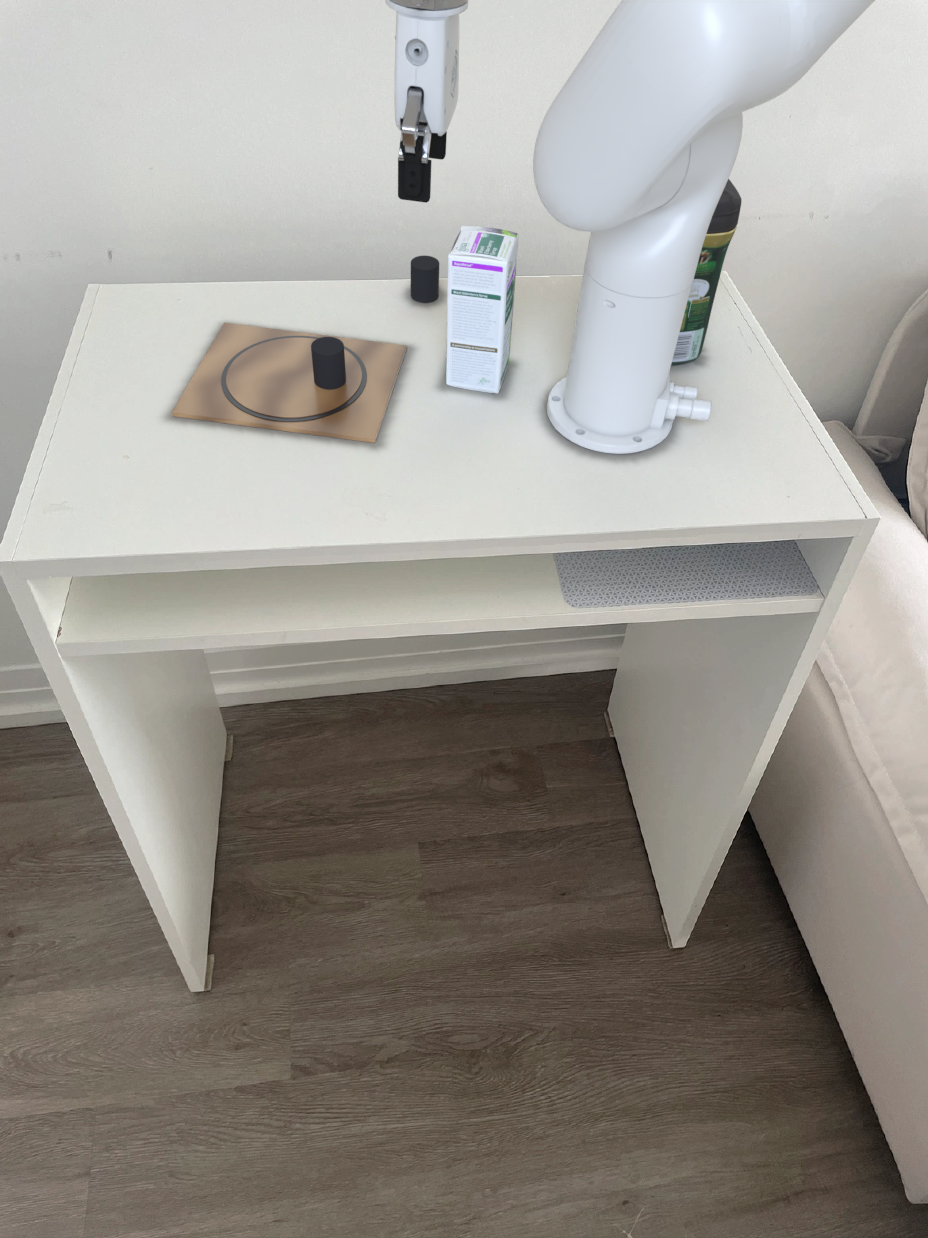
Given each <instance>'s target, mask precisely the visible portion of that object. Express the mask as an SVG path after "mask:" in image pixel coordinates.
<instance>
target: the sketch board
mask: <svg viewBox="0 0 928 1238" xmlns="http://www.w3.org/2000/svg"><path fill="white" fill-rule="evenodd" d="M321 337H334V338H337V339H339V340H341V341H342V342H343V344H344V355H345V370H346V382H345V384H344V385H343V386H342V387H340V388H337V389H332V390H327V389H322V388H320V387H318V386H317V385H316V384H315V382H314V374H313V363H312V353H311V344H312V342H313V341H314V340H316V339H318V338H321ZM406 352H407V345H405V344H398V343H390V342H384V341H383V342H382V341H375V340H374V341H373V340H367V339H365V340H364V339H358V338H349V337H341V336H334V335H325V334H317V333H310V332H302V331H293V330H287V329H277V328H269V327H262V326H255V325H247V324H238V323H231V322H223V323H222V325H221V327H220V329H219V330H218V332H217V334H216V336H215V337H214V339H213V340H212V343H211V344H210V346H209V348H208V349H207V351H206V353H205V354H204V356H203V357H202V359H201V361H200V362H199V364H198V366H197V368H196V370H195V372H194V373H193V375H192V377H191V379H190V380H189V382H188V384H187V385H186V387H185V388H184V391H182V394H181V395H180V397H179V399H178V401H177V402H176V403H175V405H174V408H173V409H172V411H171V416H172V417H174V418H175V417H176V418H181V419H182V418H183V419H189V420H190V419H191V420H199V421H205V422H214V423H221V424H228V425H236V426H245V427H251V428H260V429H267V430H273V431H274V430H275V431H281V432H282V431H283V432H290V433H297V434H304V435H312V436H319V437H327V438H334V439H341V440H342V439H343V440H348V441H357V442H364V443H373V444H375V443H376V441H377V438H378V435H379V432H380V430H381V427H382V423H383V420H384V418H385V416H386V411H387V408H388V405H389V402H390V400H391V396H392V393H393V390H394V387H395V385H396V382H397V379H398V376H399V372H400V370H401V367H402V364H403V361H404V357H405V355H406Z"/></svg>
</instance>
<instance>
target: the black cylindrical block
mask: <svg viewBox="0 0 928 1238" xmlns="http://www.w3.org/2000/svg"><path fill="white" fill-rule="evenodd" d="M311 353H312V363H313V374H314V382H315V384H316V385H317V386H318V387H320V388H322V389H327V390H332V389H337V388H340V387H342V386H343V385H344V384H345V382H346V370H345V355H344V344H343V342H342V341H341V340H339V339H337V338H334V337H321V338H318V339H316V340H314V341H313V342H312V344H311Z"/></svg>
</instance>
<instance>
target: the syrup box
mask: <svg viewBox="0 0 928 1238" xmlns="http://www.w3.org/2000/svg"><path fill="white" fill-rule="evenodd" d="M518 247H519V233H518V232H514V231H510V230H508V229H507V230H506V229H501V228H495V227H489V226H478V225H477V226H476V225H464V224H462V225H461V227H460V230H459V232H458V233H457V235H456V237H455V239H454V241H453V243H452V245H451V248H450V250H449V252H448V255H447V292H446V293H447V295H446V296H447V297H446V298H447V299H446V350H445V351H446V352H445V384H446V385H447V386H448V387H455V388H458V389H464V390H470V391H476V392H483V393H491V394H499V393H500V390H501V388H502V385H503V382H504V379H505V376H506V373H507V370H508V368H509V367H508V366H509V364H510V356H511V355H510V354H511V341H512V340H511V339H512V330H513V315H514V301H515V289H516V277H517V276H516V275H517V263H518V262H517V260H518V249H519V248H518Z"/></svg>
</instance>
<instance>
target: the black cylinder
mask: <svg viewBox="0 0 928 1238" xmlns="http://www.w3.org/2000/svg"><path fill="white" fill-rule="evenodd" d="M439 292H440V261H439V259H438V258H436V257H434V256H431V255H418V256H414V257H413V258H412V259H411V260H410V297H411V299H412V300H413V301H414V302H418V303H422V304H429V303H433V302H436V301H437V300H438V299H439V295H440V294H439Z"/></svg>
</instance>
